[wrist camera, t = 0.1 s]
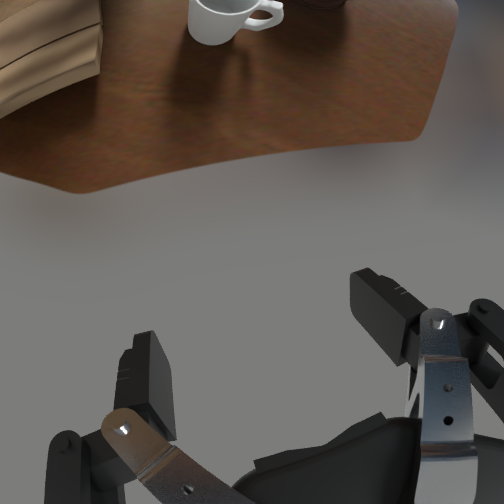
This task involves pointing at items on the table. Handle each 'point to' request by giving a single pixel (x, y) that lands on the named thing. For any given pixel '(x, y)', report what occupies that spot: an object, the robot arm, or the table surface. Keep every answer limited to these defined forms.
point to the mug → (228, 18)
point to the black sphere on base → (321, 3)
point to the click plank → (50, 69)
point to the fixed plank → (45, 26)
